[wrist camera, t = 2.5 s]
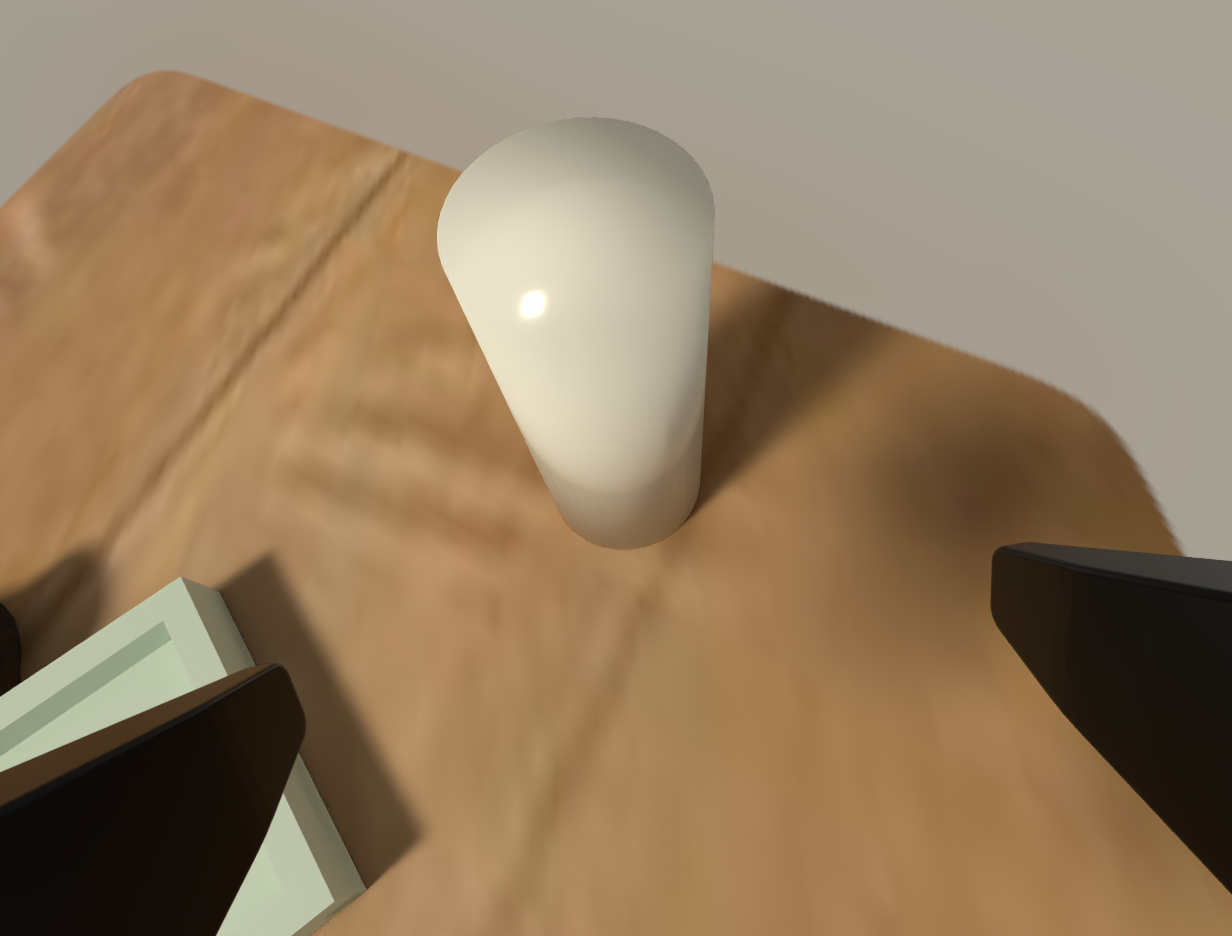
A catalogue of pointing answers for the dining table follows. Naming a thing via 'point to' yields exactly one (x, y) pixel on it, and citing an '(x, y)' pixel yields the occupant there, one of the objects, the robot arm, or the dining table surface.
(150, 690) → the tray
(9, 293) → the dining table surface
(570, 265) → the white rounded tapered cylinder
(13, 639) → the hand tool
